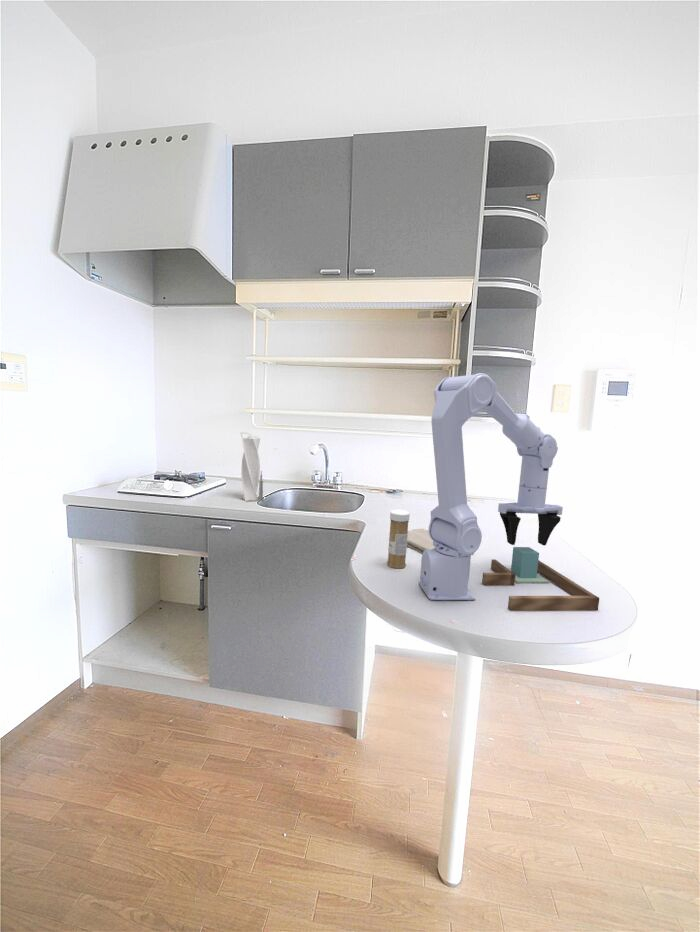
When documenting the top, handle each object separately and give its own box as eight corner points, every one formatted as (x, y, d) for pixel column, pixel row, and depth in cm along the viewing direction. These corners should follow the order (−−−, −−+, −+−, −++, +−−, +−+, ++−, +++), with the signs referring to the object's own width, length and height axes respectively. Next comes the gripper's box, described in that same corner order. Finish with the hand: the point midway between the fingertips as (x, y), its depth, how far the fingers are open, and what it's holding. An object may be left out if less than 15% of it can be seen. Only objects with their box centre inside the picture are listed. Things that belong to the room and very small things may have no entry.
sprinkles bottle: (385, 561, 93) (388, 508, 92) (403, 562, 94) (407, 509, 92) (389, 569, 89) (392, 513, 87) (408, 569, 89) (411, 514, 88)
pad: (516, 583, 84) (516, 581, 84) (499, 569, 92) (499, 568, 92) (548, 583, 85) (548, 581, 85) (529, 569, 93) (529, 568, 93)
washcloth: (430, 560, 97) (431, 548, 97) (388, 540, 112) (389, 529, 112) (462, 553, 103) (463, 542, 103) (418, 535, 119) (419, 525, 118)
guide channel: (510, 610, 71) (511, 598, 71) (467, 569, 91) (468, 559, 91) (597, 610, 73) (599, 598, 73) (536, 569, 93) (538, 559, 93)
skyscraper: (242, 502, 150) (243, 432, 146) (237, 498, 157) (238, 431, 153) (263, 501, 154) (265, 433, 151) (257, 497, 161) (258, 432, 158)
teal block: (520, 578, 86) (522, 552, 85) (510, 571, 90) (513, 546, 89) (536, 578, 87) (539, 553, 86) (526, 571, 91) (529, 547, 90)
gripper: (512, 488, 81) (505, 549, 83) (574, 490, 83) (567, 550, 84) (496, 482, 88) (490, 539, 90) (553, 484, 90) (547, 540, 91)
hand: (526, 543), depth 87 cm, fingers open, 7 cm apart
